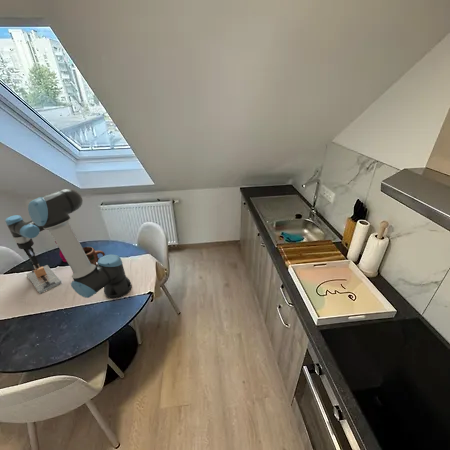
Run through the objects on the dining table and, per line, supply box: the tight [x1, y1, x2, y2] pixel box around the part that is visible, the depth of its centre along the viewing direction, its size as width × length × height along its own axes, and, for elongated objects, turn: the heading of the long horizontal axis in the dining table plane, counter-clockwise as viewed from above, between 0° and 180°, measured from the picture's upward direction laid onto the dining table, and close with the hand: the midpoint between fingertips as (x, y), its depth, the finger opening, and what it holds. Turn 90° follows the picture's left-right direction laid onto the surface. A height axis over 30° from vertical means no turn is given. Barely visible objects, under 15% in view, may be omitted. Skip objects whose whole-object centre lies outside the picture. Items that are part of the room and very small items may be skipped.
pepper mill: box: [54, 240, 68, 263], centre depth 171 cm, size 7×7×20 cm
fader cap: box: [32, 266, 46, 278], centre depth 157 cm, size 2×5×5 cm, turn 139°
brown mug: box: [82, 246, 106, 266], centre depth 164 cm, size 20×12×14 cm, turn 113°
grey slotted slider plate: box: [25, 264, 62, 295], centre depth 157 cm, size 24×12×3 cm, turn 49°
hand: (39, 271), depth 159 cm, fingers closed
